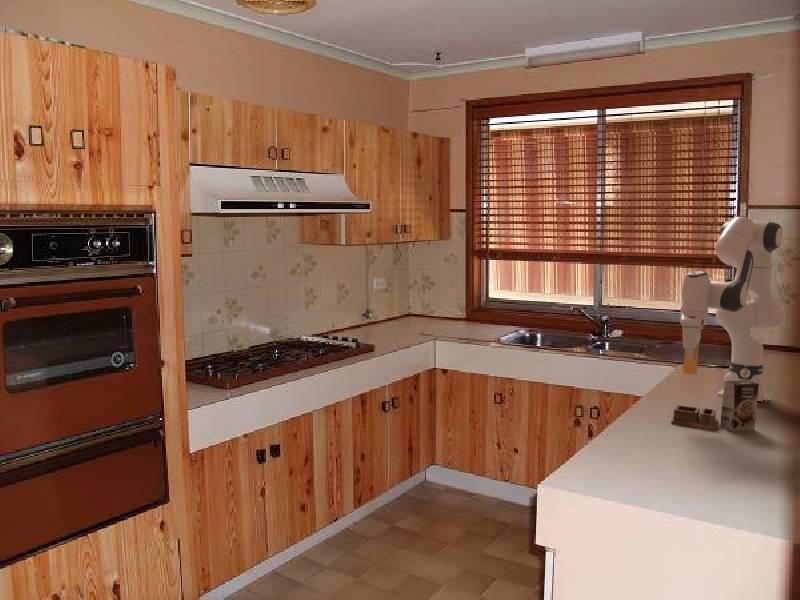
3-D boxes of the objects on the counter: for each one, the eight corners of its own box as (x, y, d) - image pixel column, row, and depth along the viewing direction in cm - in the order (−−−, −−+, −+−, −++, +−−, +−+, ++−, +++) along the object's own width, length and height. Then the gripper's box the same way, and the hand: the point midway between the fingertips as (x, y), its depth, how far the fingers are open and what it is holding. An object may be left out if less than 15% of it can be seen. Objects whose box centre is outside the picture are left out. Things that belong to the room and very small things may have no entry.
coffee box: (733, 432, 237) (736, 384, 235) (719, 426, 243) (723, 380, 241) (755, 430, 240) (759, 383, 238) (741, 424, 246) (745, 379, 244)
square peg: (684, 371, 249) (686, 342, 248) (696, 372, 247) (698, 344, 246) (683, 373, 245) (685, 344, 244) (695, 374, 244) (697, 345, 242)
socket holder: (675, 415, 256) (676, 403, 255) (717, 421, 249) (718, 409, 249) (671, 423, 245) (671, 411, 244) (715, 430, 239) (716, 417, 238)
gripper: (687, 314, 255) (684, 352, 256) (680, 321, 237) (677, 362, 238) (706, 316, 252) (703, 354, 253) (700, 322, 234) (697, 364, 235)
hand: (690, 358), depth 246 cm, fingers closed on square peg, 4 cm apart
